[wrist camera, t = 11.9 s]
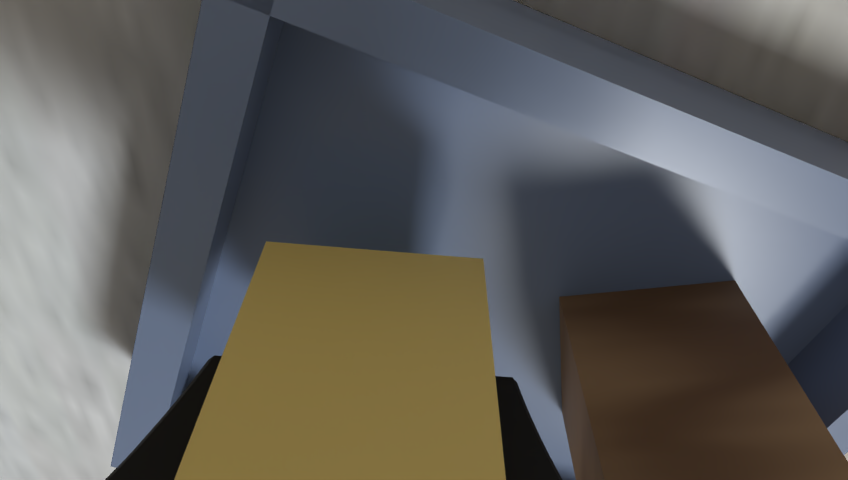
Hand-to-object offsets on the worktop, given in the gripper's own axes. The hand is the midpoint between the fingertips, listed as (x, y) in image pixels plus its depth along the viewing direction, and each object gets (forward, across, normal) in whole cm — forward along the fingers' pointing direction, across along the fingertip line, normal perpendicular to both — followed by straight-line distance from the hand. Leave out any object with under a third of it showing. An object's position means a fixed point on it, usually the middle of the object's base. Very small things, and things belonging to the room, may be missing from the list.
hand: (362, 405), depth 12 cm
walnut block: (+4, -7, +2) cm, 8 cm away
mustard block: (+2, 0, 0) cm, 2 cm away
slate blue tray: (+5, -3, +1) cm, 6 cm away
